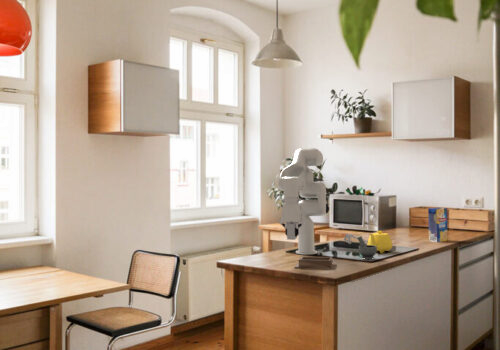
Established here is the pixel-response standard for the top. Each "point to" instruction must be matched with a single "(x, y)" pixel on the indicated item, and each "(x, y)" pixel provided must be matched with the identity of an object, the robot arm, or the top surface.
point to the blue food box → (437, 224)
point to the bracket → (348, 236)
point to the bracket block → (291, 231)
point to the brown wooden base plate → (315, 263)
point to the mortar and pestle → (366, 249)
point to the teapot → (380, 241)
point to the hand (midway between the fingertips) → (292, 235)
